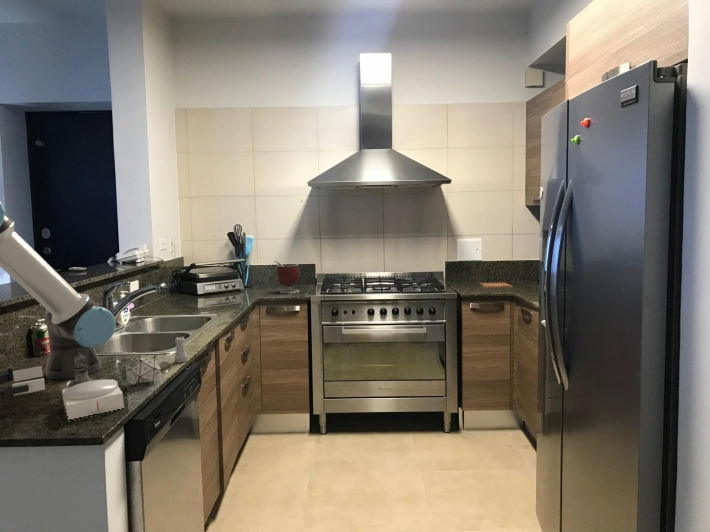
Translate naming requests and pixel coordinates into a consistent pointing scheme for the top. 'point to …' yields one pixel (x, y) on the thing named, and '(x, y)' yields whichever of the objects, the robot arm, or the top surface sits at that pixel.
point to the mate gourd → (288, 276)
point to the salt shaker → (80, 370)
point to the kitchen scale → (92, 398)
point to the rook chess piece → (180, 350)
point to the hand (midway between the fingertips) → (43, 377)
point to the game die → (145, 369)
